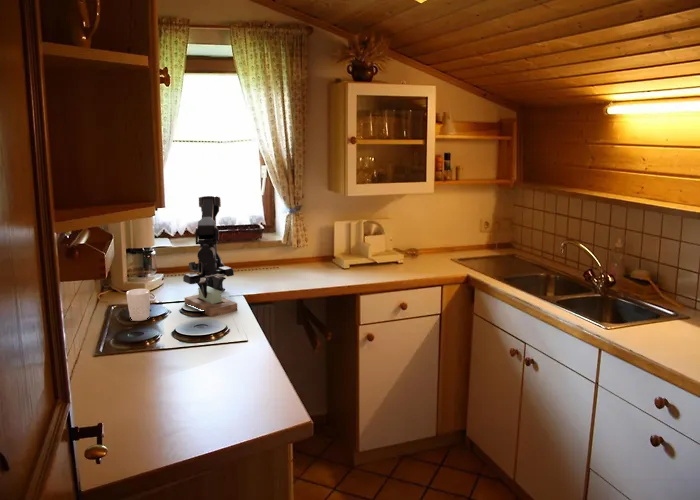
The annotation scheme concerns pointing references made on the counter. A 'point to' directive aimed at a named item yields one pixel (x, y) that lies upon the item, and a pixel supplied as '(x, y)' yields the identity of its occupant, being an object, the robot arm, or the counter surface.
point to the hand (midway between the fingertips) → (210, 296)
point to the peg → (211, 295)
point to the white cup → (138, 304)
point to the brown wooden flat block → (212, 305)
